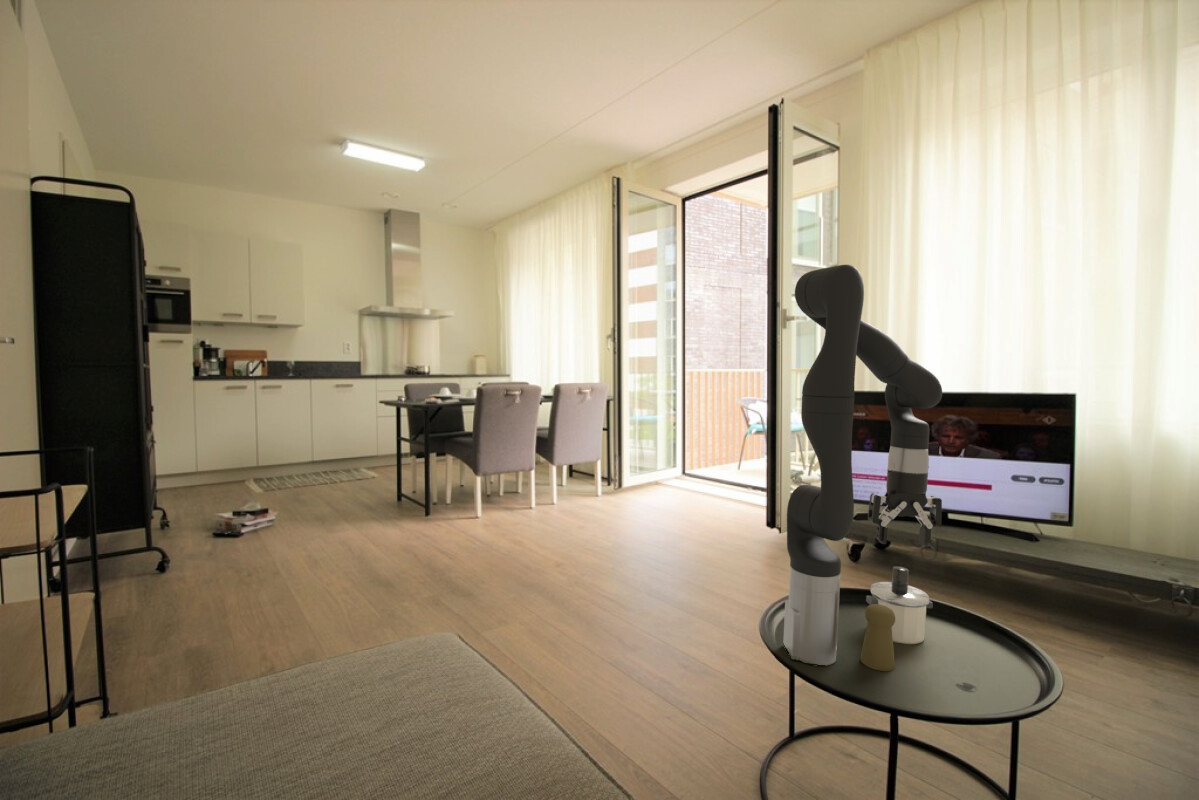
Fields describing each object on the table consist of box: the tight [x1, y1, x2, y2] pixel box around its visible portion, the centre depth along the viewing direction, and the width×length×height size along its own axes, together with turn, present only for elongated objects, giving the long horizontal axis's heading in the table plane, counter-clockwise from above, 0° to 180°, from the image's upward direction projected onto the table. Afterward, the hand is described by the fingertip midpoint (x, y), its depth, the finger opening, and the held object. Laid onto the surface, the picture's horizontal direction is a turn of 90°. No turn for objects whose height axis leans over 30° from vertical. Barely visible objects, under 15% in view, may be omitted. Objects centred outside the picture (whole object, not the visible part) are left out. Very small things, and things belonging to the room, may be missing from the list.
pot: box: [865, 595, 934, 645], centre depth 119 cm, size 13×10×8 cm
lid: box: [870, 566, 930, 607], centre depth 119 cm, size 11×11×6 cm
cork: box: [859, 604, 896, 672], centre depth 107 cm, size 6×6×11 cm
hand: (902, 543), depth 118 cm, fingers open, 8 cm apart
